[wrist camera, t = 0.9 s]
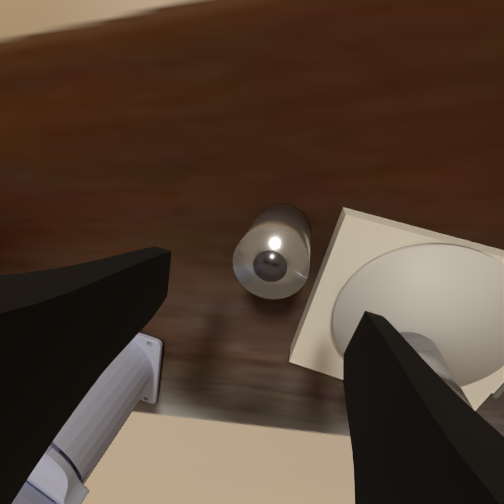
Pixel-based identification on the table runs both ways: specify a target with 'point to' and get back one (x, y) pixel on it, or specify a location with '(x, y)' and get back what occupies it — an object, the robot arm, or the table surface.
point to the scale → (408, 298)
